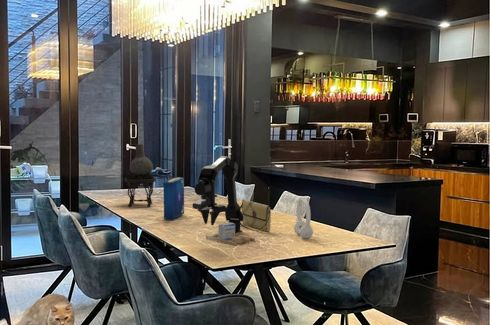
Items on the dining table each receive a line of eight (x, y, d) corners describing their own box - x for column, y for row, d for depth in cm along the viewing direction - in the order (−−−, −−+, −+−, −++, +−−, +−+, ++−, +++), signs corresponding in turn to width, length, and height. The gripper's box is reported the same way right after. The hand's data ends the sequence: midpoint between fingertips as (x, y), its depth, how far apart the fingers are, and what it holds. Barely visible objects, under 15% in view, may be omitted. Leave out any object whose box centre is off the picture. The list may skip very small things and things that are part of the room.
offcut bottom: (241, 242, 241) (241, 238, 240) (249, 244, 237) (249, 240, 237) (232, 245, 235) (232, 241, 235) (239, 246, 232) (239, 242, 232)
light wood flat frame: (225, 235, 253) (225, 231, 253) (254, 242, 239) (255, 238, 239) (206, 239, 243) (206, 236, 243) (235, 247, 229) (235, 243, 229)
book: (173, 220, 292) (173, 180, 290) (162, 220, 294) (162, 180, 292) (184, 214, 313) (184, 177, 312) (174, 214, 315) (174, 176, 313)
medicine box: (224, 242, 238) (224, 225, 238) (218, 240, 241) (218, 224, 241) (235, 239, 244) (235, 223, 243) (229, 238, 247) (229, 222, 246)
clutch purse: (234, 224, 283) (234, 199, 282) (244, 223, 287) (244, 198, 286) (262, 234, 258) (262, 207, 257) (272, 232, 262) (273, 206, 261)
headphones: (304, 232, 262) (305, 197, 261) (314, 240, 244) (315, 202, 243) (292, 233, 261) (293, 197, 260) (301, 241, 243) (302, 202, 242)
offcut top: (242, 238, 240) (242, 234, 240) (249, 240, 237) (249, 236, 236) (232, 240, 235) (232, 236, 235) (239, 242, 232) (239, 238, 232)
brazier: (149, 208, 338) (149, 145, 335) (119, 206, 341) (119, 144, 338) (160, 203, 360) (160, 144, 357) (132, 202, 364) (131, 143, 360)
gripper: (184, 192, 231) (184, 224, 232) (210, 196, 218) (210, 229, 219) (201, 190, 239) (201, 220, 240) (227, 194, 226) (227, 226, 227)
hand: (209, 224), depth 232 cm, fingers open, 4 cm apart
